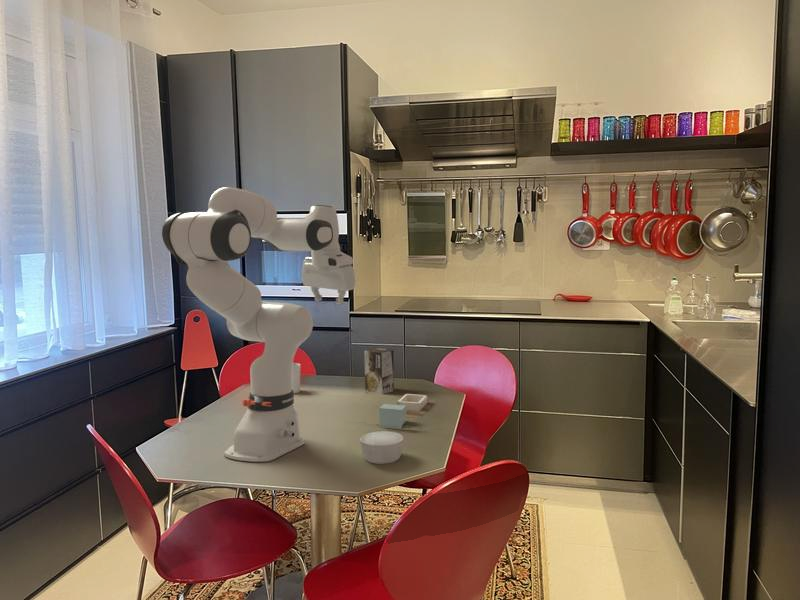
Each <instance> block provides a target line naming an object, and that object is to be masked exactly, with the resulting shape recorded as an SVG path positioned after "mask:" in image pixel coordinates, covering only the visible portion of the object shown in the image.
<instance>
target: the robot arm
mask: <svg viewBox="0 0 800 600" xmlns="http://www.w3.org/2000/svg"><path fill="white" fill-rule="evenodd" d="M207 209H208V210H207V211H195V212H188V211H185V212H184V211H183V212H178V213H174V214H172V215H170V216H169V217H168V218H166V220H165V221H164V223H163V226H162V229H161V237H162V240H163V243H164V245H165V247H166V249H167V250H168V252H170V254H171V255H173V257H174V258H175V261H176V262H177V263H178V264H180V265H183V266H187V267H188V270H187V273H186V279H185V280H186V285H187V287H188V289H189V290H190V291H191V292H192V294H193V295H194V296H195V297H197V299H198V300H199V301H200V302H202V303H203V305H205V306H207V307H208V308H209V309H211V310H212V311H214V312H216V313H217V314H218V315H220V316H221V317H223V318H224V319H226V322H225V323H226V327H227V331H228V332H229V333H230V335H232V336H233V337H236V338H238V339H241V340H244V341H250V342H259V343H264V350H263V353H262V355H261V356H258V357H257V358H256V359H254V360H253V361H252V363H251V365H250V368H249V369H250V371H249V374H250V392H249V395H248V398H243V399H242V403H241V404H242V405H241V406H243V407H247V410H246V412H245V413H244V415H243V416H242V418H241V420H240V421H239V424H238V426H237V427H236V428H235V429H234V433H233V444H232V445H230V446H229V447H228V448H227V449H226V450H225V451H224V457H226V458H227V459H231V460H236V461H243V462H255V463H259V462H262V463H263V462H269V461H273V460H275V459H277V458H279V457H281V456H284V455H286V454H287V453H289V452H291V451H293V450H295V449H297V448H299V447H301V446H303V445H305V440H304V438H303V437H301V430H300V420H299V413H298V412H297V411H296V409H295V407H294V403H295V400H294V398H295V393H294V394H293V390H292V363H294V358H295V355H296V353H297V350H298V348H299V347H300V346H301V345H302V344H303V343H305V342H306V340H308V339H309V337H310V336H311V334H312V332H313V327H314V320H313V316H312V313H311V312H310V310H309V309H308V308H307V307H306V306H305V307H304V306H303V305H298V304H295V303H291V302H277V301H274V302H273V301H266V300H262V294H261V291H260V289H259V288H258V286H257V285H256V284H254V283H253V282H252V281H250V280H249V279H247V278H246V277H245V276H244V275H243V274H241V273H240V272H238V271H237V270H236V269H235V268H233V267H231V265H230V264H229V262H230V261H236V260H239V259H241V258H243V257H244V256H245V255H246V254H247V252H248V250H249V249H250V246H251V243H252V238H255V239H259V240H261V241H264V242H266V243H267V244H268V246H270V247H271V248H272V249H273V250H274V251H277V252H279V253H280V252H281V253H282V252H311V253H310V254H311V256H306V257H305V258H304V259H303V261H302V270H301V281H302V284H303V286H304V287H310V289H311V292H312V294H313V295H314V301H315V302H321V301H322V300H323V298H322V297H323V295H322V294H320V291H319V290H320V288H321V289H327V290H333V291H334V290H335V291H337V294H338V296H337V297H336V298H335V303H336V305H342V304H344V298H345V295H346V292H348V291H353V289H355V287H356V275H355V274H356V273H355V269H354V267H353V266H352V265H353V263H354V258H353V257H352V256H351V255H348V254H347V253H344V252H343V251H341V246H340V243H339V236H340V229H339V226H340V225H339V219H338V218H339V217H338V214H337V211H336V210H337V209H336V208H335V207H333V206H331V205H324V204H315V205H312V206H310V209H309V213H308V214H307V215H306V216H304V217H300V218H299V217H297V218H296V217H295V218H294V217H293V218H289V217H288V218H287V217H278V213H277V208H276V206H275V205H274V203H272V202H271V201H270V200H269V199H267V198H266V197H264V196H262V195H259V194H257V193H255V192H252V191H251V190H250V191H249V190H246V189H242V188H237V187H231V186H230V187H229V186H225V187H221V188H218V189H217V190H215V191H214V192H213V193H212V194H211V196H210V198H209V200H208V204H207Z"/></svg>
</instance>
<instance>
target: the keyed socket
mask: <svg viewBox="0 0 800 600" xmlns="http://www.w3.org/2000/svg"><path fill="white" fill-rule="evenodd" d="M428 400H429V399H428V394H427V395H425V394H413V393H405V394H404V395H402V396H401V398H399V399H398V400H397V401H396V403H397V405H404V406H406V410H412V411H420V410H421V409H422V408H423V407H424V406H425V405H426V404H427V403H428Z"/></svg>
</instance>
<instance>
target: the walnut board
mask: <svg viewBox="0 0 800 600" xmlns="http://www.w3.org/2000/svg"><path fill="white" fill-rule="evenodd" d="M436 402H437V400H432V399H431V400H430V399H428V403H427V404H426V405H425V406H424V407H423V408H422V409H421V410H420V411H412V410H406V418H413V419H414V418H415V419H422V418H423V416H424V415H425V414H427V412H428V411H429V409H431V408H432V406H433V405H435V403H436ZM394 405H397V402H396V403H395V404H394Z"/></svg>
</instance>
